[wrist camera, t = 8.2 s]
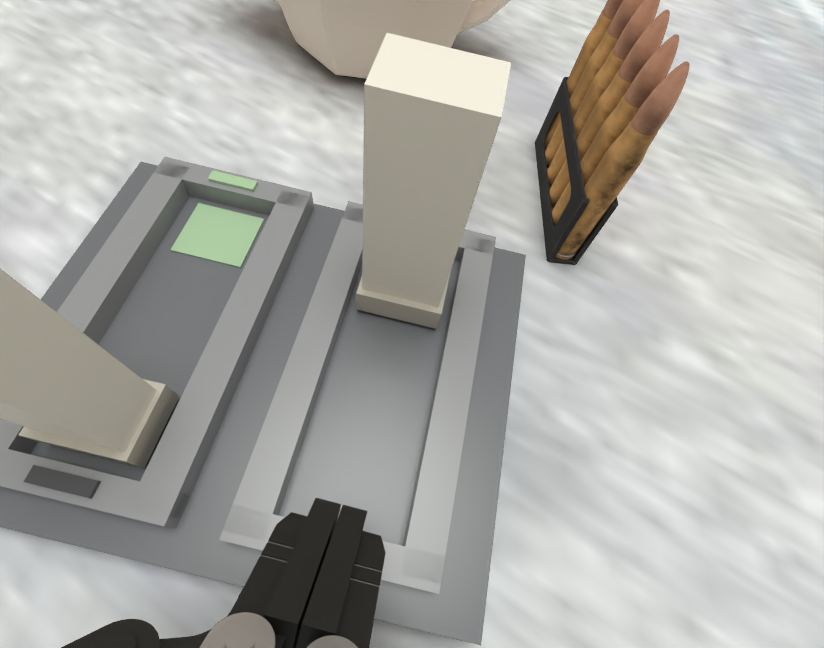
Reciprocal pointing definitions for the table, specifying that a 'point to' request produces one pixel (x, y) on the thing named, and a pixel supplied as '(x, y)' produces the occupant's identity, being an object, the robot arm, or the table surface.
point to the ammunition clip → (604, 122)
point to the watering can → (377, 26)
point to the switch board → (281, 393)
